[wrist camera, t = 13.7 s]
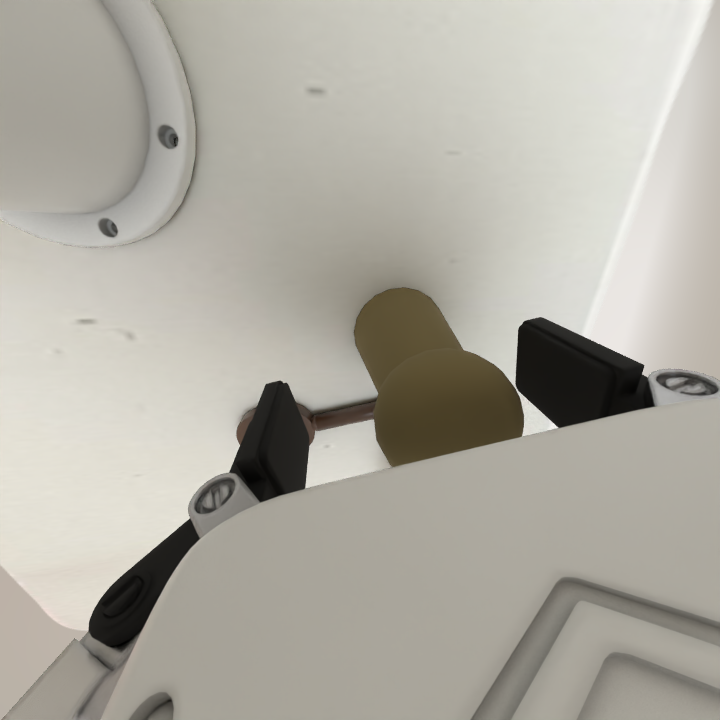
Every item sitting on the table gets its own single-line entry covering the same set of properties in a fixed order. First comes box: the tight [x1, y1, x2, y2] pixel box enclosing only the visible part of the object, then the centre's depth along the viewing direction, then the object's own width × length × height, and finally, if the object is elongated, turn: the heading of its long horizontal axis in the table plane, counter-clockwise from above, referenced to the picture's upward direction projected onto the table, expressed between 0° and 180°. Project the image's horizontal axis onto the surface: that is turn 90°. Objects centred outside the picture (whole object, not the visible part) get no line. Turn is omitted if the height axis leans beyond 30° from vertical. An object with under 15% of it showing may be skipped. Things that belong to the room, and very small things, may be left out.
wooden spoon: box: [237, 402, 376, 445], centre depth 21 cm, size 16×4×1 cm, turn 103°
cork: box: [354, 288, 524, 467], centre depth 14 cm, size 6×6×11 cm
